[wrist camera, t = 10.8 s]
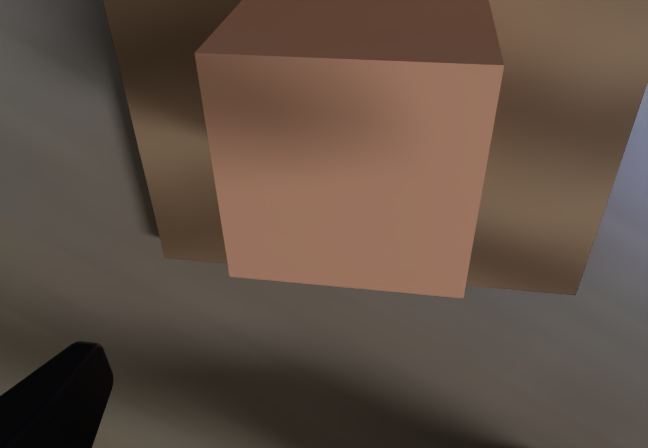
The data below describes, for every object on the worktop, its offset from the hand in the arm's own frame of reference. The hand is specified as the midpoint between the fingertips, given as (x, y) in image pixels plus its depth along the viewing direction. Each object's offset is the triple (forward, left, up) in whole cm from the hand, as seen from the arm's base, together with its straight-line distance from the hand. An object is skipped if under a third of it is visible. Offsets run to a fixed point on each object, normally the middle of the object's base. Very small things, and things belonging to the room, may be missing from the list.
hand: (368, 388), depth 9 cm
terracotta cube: (+1, +1, -11) cm, 11 cm away
